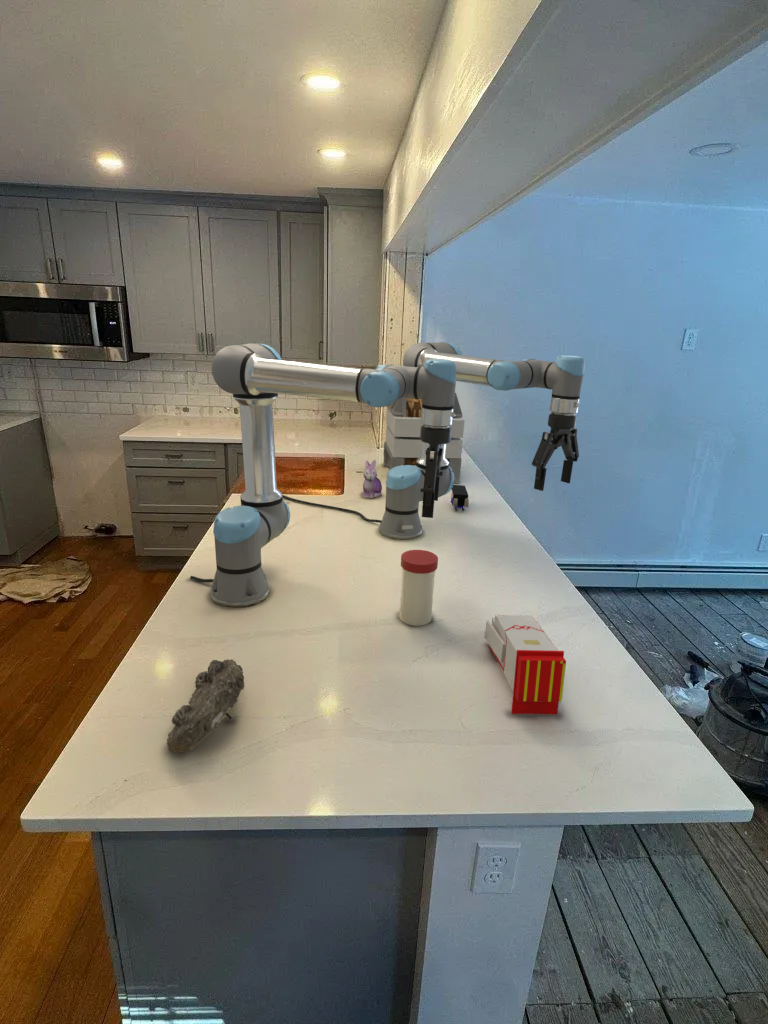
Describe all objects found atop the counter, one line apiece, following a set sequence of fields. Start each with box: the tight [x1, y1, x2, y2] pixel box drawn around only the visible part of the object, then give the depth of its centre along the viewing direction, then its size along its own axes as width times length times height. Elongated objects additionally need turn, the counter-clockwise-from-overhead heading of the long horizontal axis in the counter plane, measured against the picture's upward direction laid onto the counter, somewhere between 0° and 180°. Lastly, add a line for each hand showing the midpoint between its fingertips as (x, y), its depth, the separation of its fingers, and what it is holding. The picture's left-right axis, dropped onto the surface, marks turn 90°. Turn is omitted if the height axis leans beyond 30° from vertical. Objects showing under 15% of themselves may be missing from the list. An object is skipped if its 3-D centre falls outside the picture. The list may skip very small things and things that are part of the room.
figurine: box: [361, 459, 383, 499], centre depth 237 cm, size 9×10×15 cm
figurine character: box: [449, 484, 470, 512], centre depth 229 cm, size 7×8×15 cm
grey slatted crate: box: [383, 392, 465, 484], centre depth 268 cm, size 34×33×41 cm
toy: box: [484, 614, 567, 716], centre depth 124 cm, size 12×13×30 cm
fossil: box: [166, 658, 245, 754], centre depth 106 cm, size 22×10×15 cm
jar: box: [399, 567, 436, 627], centre depth 144 cm, size 8×8×17 cm
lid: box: [400, 549, 439, 574], centre depth 141 cm, size 9×9×2 cm
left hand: (430, 508), depth 144 cm, fingers open, 13 cm apart
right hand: (552, 485), depth 166 cm, fingers open, 13 cm apart
